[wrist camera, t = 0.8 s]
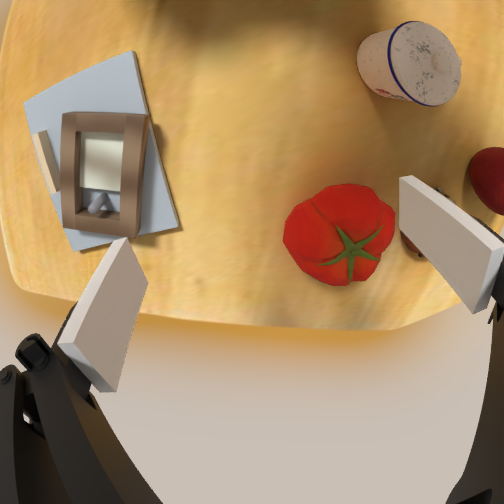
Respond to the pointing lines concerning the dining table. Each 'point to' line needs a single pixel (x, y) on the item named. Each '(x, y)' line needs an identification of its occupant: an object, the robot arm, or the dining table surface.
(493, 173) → the apple
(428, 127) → the dining table surface
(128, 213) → the walnut frame
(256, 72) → the dining table surface
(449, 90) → the teacup with lid
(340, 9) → the dining table surface
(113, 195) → the wall panel
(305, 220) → the tomato
